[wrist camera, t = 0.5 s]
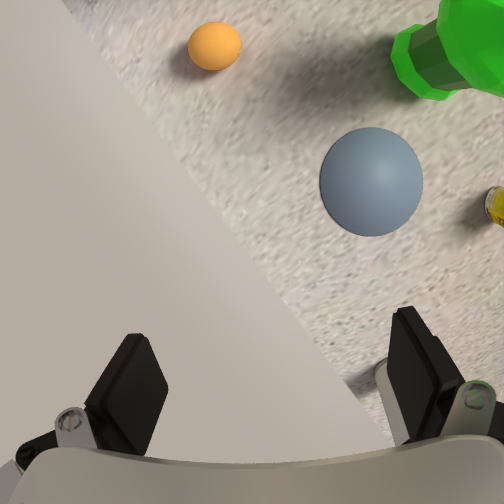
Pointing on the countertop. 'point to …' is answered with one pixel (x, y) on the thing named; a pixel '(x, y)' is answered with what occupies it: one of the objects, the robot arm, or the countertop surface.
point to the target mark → (371, 181)
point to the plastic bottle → (453, 50)
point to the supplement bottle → (495, 205)
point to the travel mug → (391, 405)
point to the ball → (214, 46)
